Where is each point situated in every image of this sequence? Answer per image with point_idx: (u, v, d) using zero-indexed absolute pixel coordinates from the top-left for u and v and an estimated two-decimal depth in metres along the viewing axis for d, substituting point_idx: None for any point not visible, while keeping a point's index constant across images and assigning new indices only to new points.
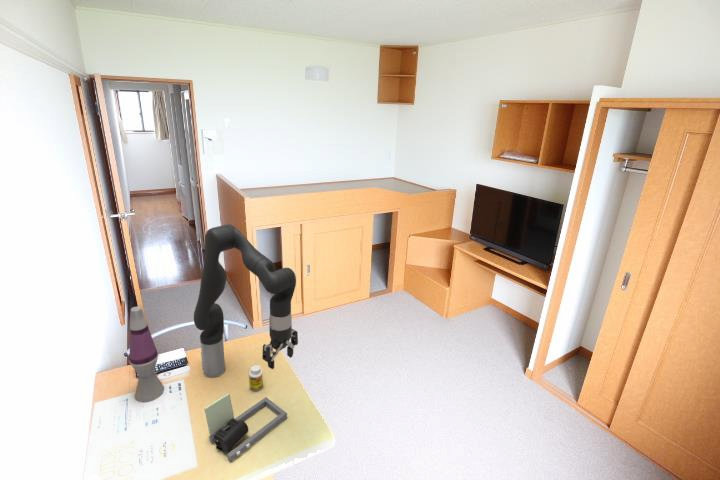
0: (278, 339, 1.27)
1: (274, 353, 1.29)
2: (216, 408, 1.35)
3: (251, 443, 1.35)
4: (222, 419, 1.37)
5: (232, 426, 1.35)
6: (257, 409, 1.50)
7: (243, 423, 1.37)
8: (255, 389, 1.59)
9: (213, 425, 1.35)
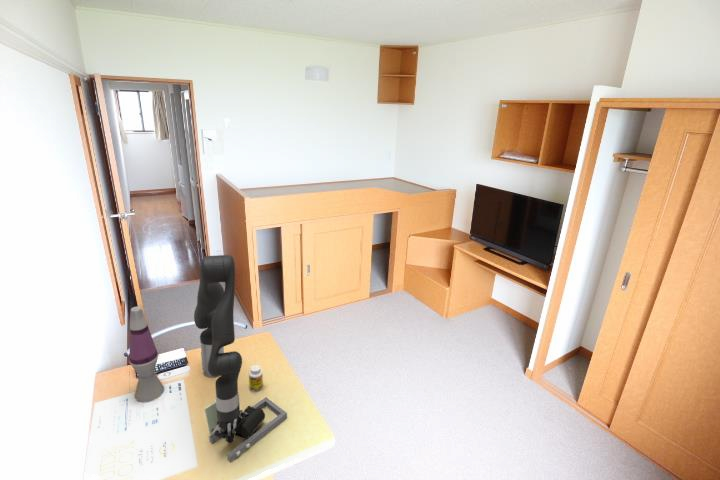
0: (224, 420, 1.27)
1: (227, 431, 1.31)
2: None
3: (251, 443, 1.35)
4: None
5: (250, 413, 1.41)
6: None
7: (260, 410, 1.43)
8: (255, 389, 1.59)
9: (213, 425, 1.35)
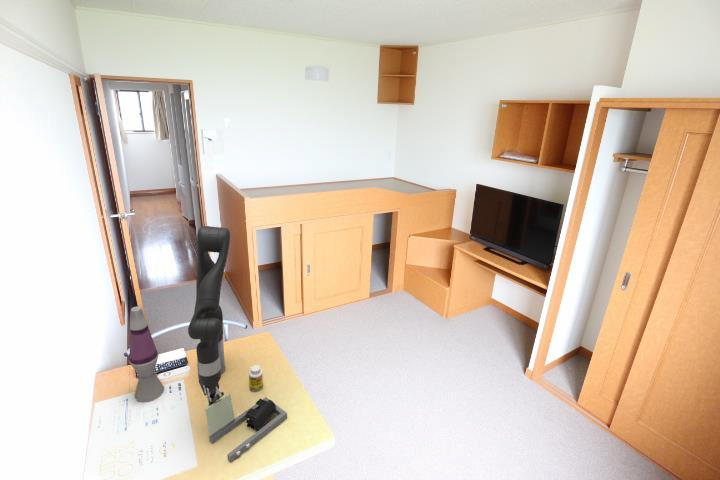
0: None
1: None
2: (217, 408, 1.35)
3: (251, 443, 1.35)
4: (222, 419, 1.37)
5: (261, 405, 1.45)
6: None
7: (271, 402, 1.47)
8: (255, 389, 1.59)
9: (213, 425, 1.34)
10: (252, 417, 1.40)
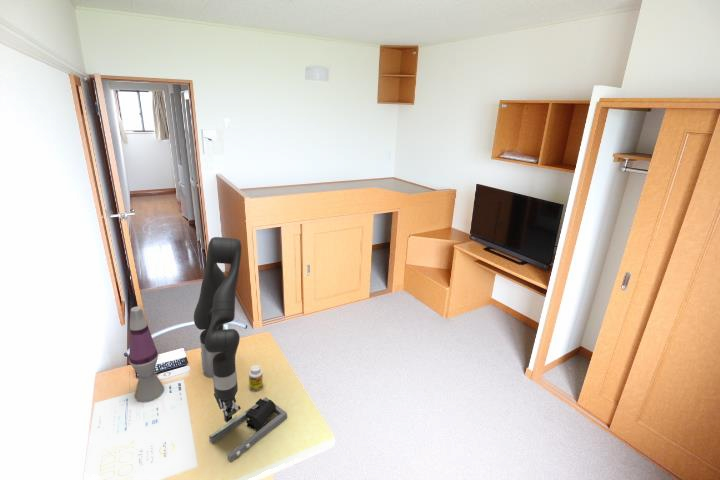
0: None
1: None
2: None
3: (251, 443, 1.35)
4: None
5: (261, 405, 1.45)
6: None
7: (271, 402, 1.47)
8: (255, 389, 1.59)
9: None
10: (252, 417, 1.40)
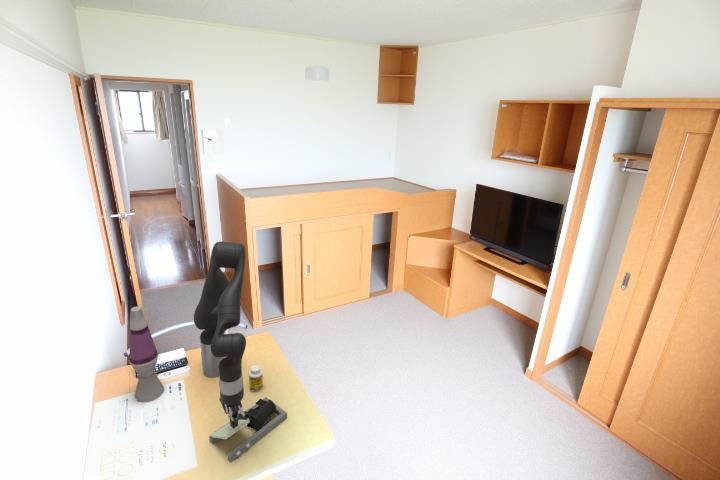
0: None
1: None
2: None
3: (251, 443, 1.35)
4: None
5: (261, 405, 1.45)
6: None
7: (271, 402, 1.47)
8: (255, 389, 1.59)
9: None
10: (252, 417, 1.40)
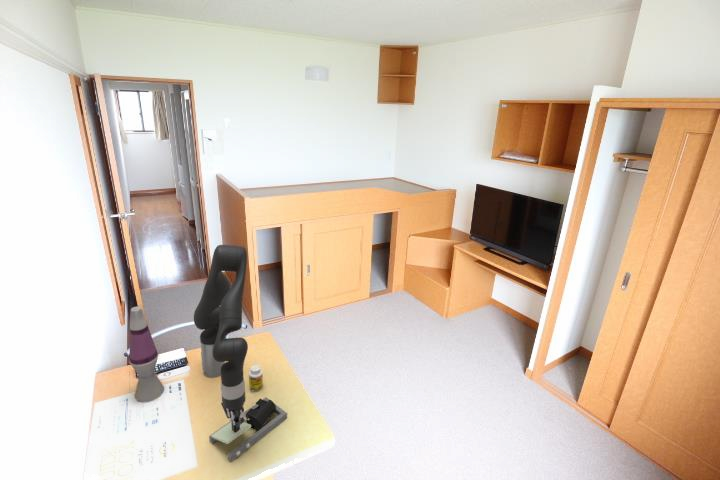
0: None
1: None
2: None
3: (251, 443, 1.35)
4: None
5: (261, 405, 1.45)
6: None
7: (271, 402, 1.47)
8: (255, 389, 1.59)
9: None
10: (252, 417, 1.40)
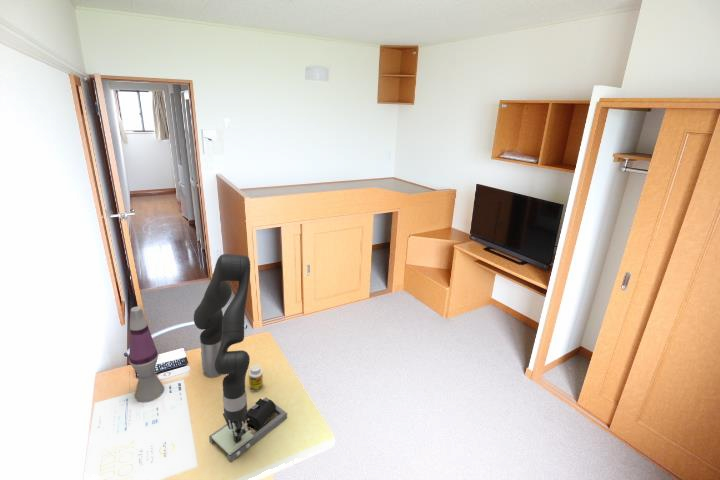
0: None
1: None
2: None
3: (251, 443, 1.35)
4: None
5: (261, 405, 1.45)
6: None
7: (271, 402, 1.47)
8: (255, 389, 1.59)
9: None
10: (252, 417, 1.40)
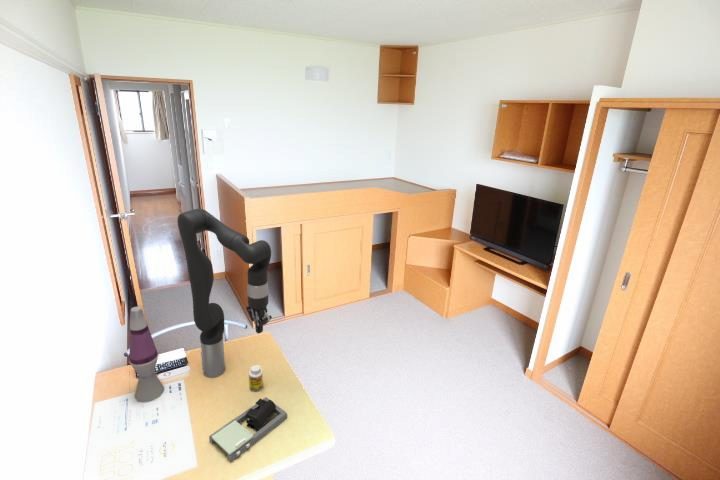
0: None
1: None
2: None
3: (251, 443, 1.35)
4: None
5: (261, 405, 1.45)
6: None
7: (271, 402, 1.47)
8: (255, 389, 1.59)
9: None
10: (252, 417, 1.40)
